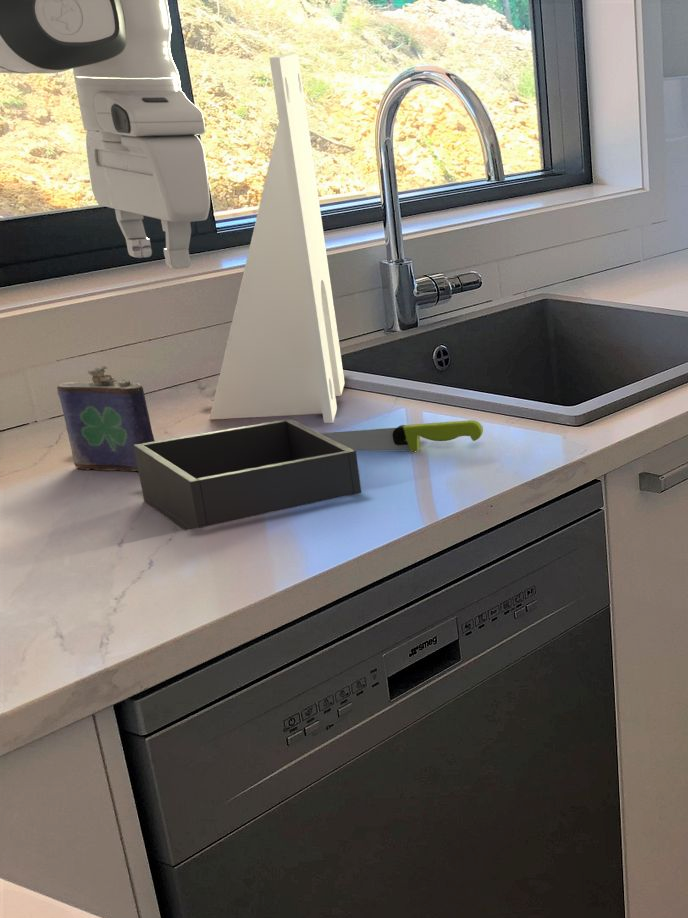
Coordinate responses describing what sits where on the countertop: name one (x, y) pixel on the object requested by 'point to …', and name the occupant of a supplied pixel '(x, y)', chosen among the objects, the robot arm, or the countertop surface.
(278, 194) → the white bracket plate
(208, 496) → the open dark grey box
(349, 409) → the countertop surface
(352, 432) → the kitchen knife
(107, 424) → the flask
